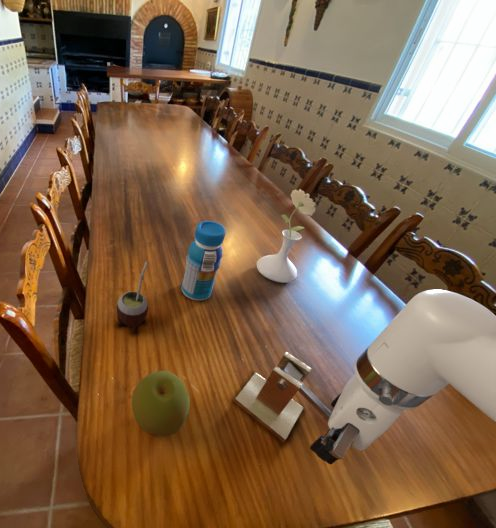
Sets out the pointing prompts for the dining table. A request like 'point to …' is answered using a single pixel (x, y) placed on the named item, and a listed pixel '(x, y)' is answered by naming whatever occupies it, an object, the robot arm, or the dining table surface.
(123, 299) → the mate gourd
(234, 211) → the dining table surface
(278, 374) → the bracket
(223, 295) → the dining table surface
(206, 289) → the beverage bottle
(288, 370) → the lever
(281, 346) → the dining table surface
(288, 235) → the flower in vase
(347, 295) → the dining table surface
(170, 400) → the apple
